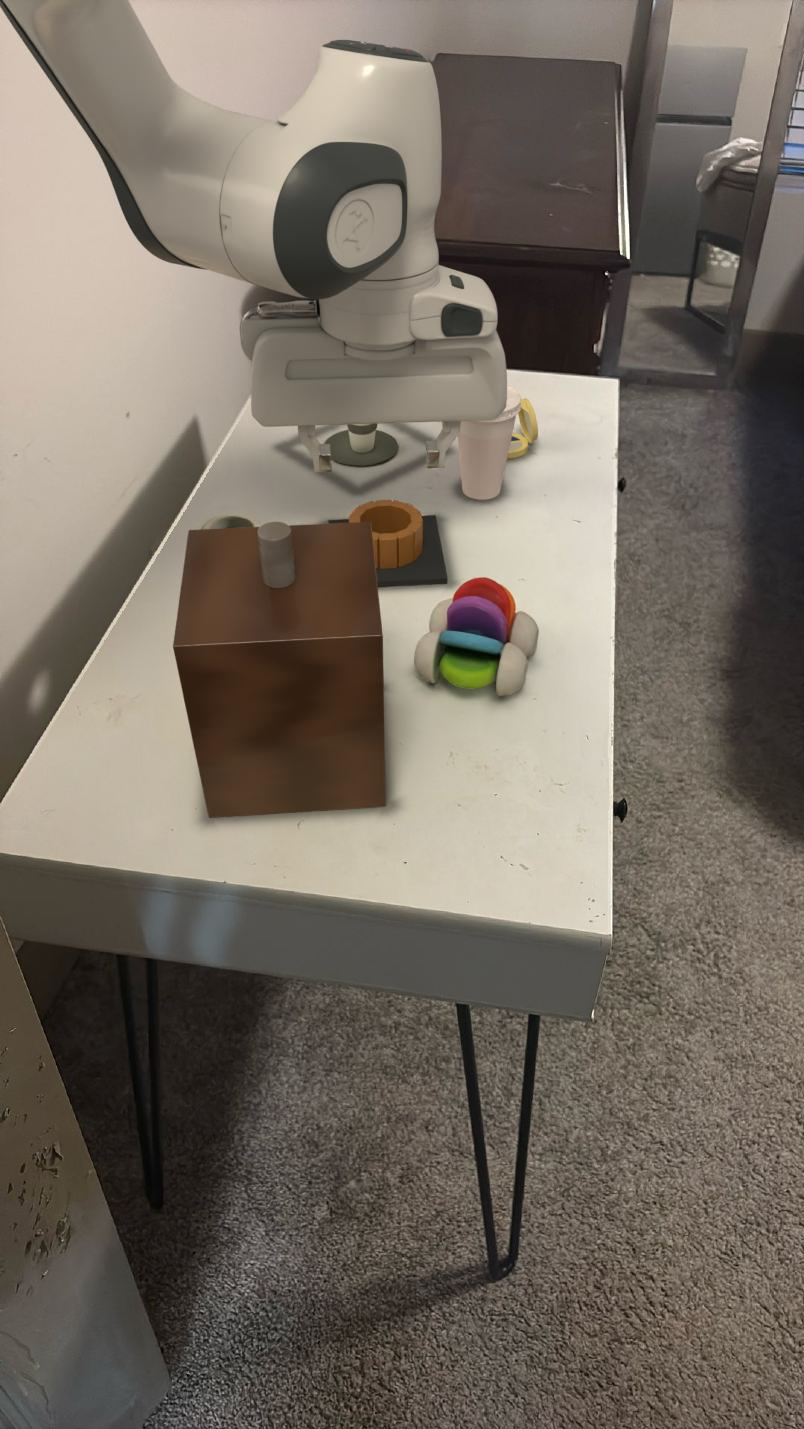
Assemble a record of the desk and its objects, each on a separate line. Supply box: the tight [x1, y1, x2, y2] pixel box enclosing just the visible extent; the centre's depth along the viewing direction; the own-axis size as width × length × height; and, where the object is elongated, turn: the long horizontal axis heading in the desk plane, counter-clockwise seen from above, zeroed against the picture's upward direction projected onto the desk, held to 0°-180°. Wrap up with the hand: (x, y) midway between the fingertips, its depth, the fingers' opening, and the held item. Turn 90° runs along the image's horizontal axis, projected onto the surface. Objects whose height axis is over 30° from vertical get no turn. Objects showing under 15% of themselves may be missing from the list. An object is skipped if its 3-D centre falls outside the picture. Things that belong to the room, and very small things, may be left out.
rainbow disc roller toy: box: [413, 576, 540, 696], centre depth 76 cm, size 8×10×7 cm
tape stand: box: [172, 521, 387, 818], centre depth 65 cm, size 12×12×18 cm
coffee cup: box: [323, 424, 399, 467], centre depth 102 cm, size 12×12×5 cm
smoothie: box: [456, 384, 522, 501], centre depth 93 cm, size 6×6×14 cm
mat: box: [327, 514, 448, 588], centre depth 89 cm, size 10×10×1 cm
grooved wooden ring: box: [348, 499, 423, 569], centre depth 88 cm, size 6×6×3 cm
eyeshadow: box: [507, 397, 539, 459], centre depth 102 cm, size 4×5×5 cm
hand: (379, 467), depth 84 cm, fingers open, 8 cm apart
